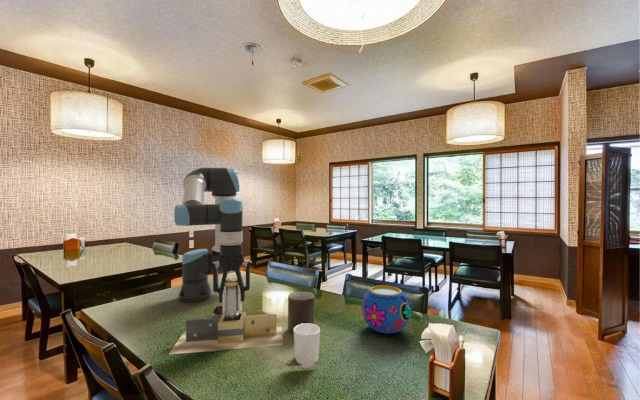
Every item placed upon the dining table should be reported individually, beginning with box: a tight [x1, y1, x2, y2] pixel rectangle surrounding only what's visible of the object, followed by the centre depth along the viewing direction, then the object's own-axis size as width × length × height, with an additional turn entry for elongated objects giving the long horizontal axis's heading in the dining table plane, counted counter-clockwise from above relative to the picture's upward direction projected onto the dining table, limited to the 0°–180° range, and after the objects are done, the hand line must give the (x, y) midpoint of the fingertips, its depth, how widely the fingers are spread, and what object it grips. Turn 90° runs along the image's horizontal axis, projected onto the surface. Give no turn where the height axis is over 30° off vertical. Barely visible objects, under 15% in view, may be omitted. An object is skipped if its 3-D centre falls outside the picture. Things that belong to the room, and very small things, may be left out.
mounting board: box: [167, 323, 284, 355], centre depth 100 cm, size 16×35×1 cm, turn 99°
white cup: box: [293, 323, 321, 369], centre depth 87 cm, size 8×8×10 cm
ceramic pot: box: [361, 285, 412, 335], centre depth 107 cm, size 18×18×15 cm
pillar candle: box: [287, 291, 316, 336], centre depth 106 cm, size 10×10×15 cm
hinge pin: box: [224, 278, 239, 321], centre depth 100 cm, size 5×5×18 cm
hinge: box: [185, 311, 277, 344], centre depth 100 cm, size 8×30×7 cm, turn 99°
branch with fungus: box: [198, 305, 226, 319], centre depth 115 cm, size 18×7×6 cm, turn 144°
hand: (232, 311), depth 100 cm, fingers open, 4 cm apart
